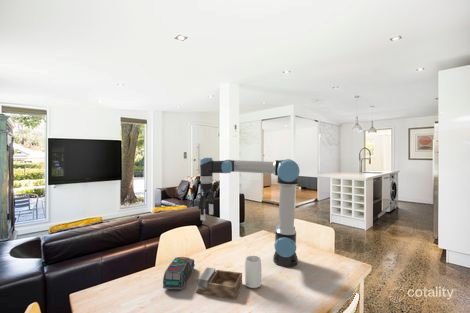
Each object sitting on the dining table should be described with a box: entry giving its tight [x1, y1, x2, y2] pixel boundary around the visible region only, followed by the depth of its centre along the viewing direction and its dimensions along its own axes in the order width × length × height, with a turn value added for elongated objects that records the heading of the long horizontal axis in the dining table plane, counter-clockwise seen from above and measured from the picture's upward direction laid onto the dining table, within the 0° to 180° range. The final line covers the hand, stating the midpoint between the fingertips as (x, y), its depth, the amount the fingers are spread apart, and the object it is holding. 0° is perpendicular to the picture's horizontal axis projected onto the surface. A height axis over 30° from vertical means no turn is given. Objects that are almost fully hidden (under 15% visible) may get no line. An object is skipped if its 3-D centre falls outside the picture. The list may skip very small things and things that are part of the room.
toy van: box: [162, 256, 196, 290], centre depth 130 cm, size 11×25×10 cm, turn 175°
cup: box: [244, 255, 262, 289], centre depth 123 cm, size 8×8×14 cm
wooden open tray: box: [195, 267, 243, 300], centre depth 121 cm, size 20×14×6 cm
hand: (207, 217), depth 147 cm, fingers open, 13 cm apart
